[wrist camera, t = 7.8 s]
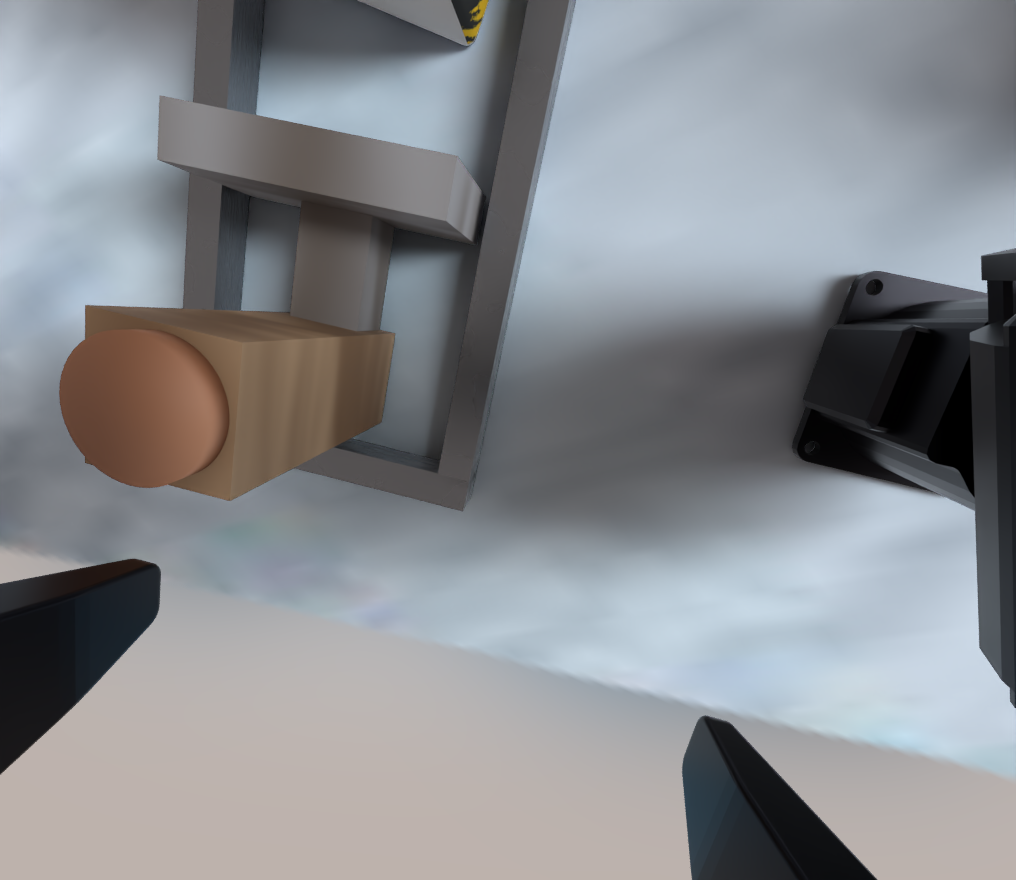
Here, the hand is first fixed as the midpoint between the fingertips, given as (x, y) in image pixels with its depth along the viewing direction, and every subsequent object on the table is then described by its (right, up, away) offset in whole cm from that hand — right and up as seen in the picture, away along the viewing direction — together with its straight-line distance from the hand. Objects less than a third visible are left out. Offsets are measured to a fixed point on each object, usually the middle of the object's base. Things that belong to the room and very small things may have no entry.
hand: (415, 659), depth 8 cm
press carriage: (-4, +9, +11) cm, 15 cm away
